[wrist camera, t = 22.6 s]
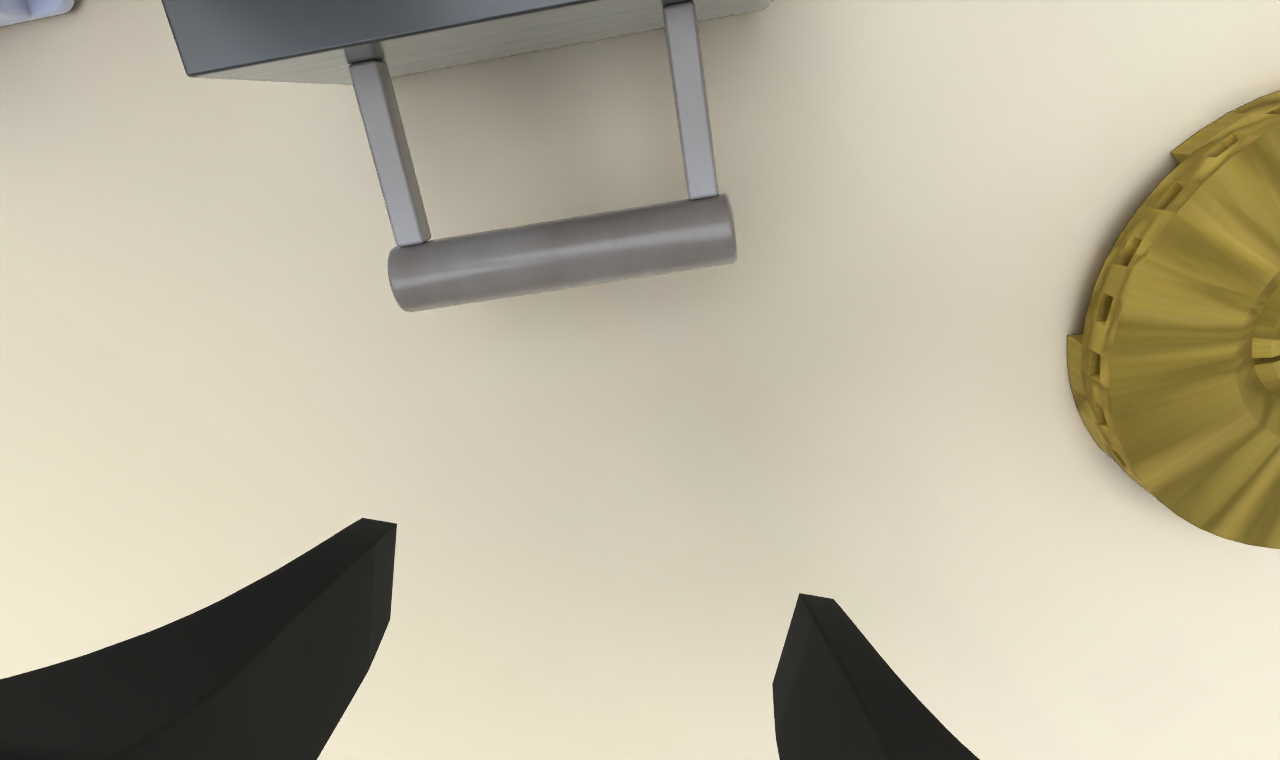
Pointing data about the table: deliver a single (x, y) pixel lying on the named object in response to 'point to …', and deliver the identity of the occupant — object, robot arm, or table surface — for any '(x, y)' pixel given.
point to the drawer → (460, 34)
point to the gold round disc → (1196, 334)
